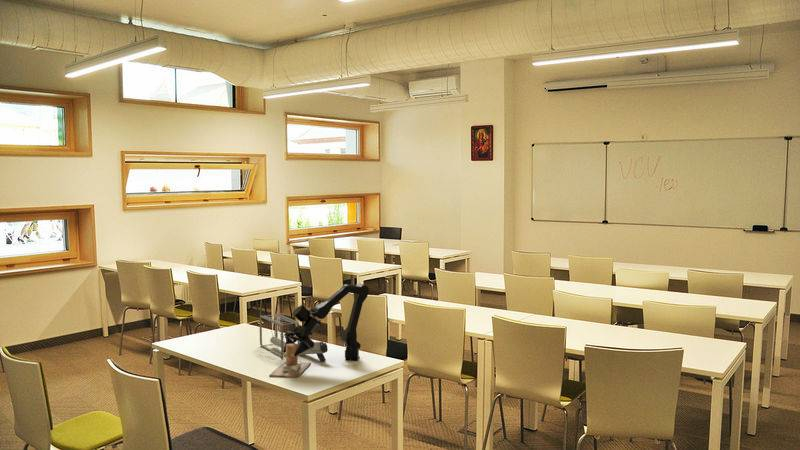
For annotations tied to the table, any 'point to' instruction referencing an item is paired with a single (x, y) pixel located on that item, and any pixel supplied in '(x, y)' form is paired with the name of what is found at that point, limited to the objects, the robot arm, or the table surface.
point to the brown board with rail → (290, 370)
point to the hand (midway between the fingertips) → (289, 354)
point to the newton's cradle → (275, 339)
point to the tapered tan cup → (291, 354)
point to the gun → (318, 350)
